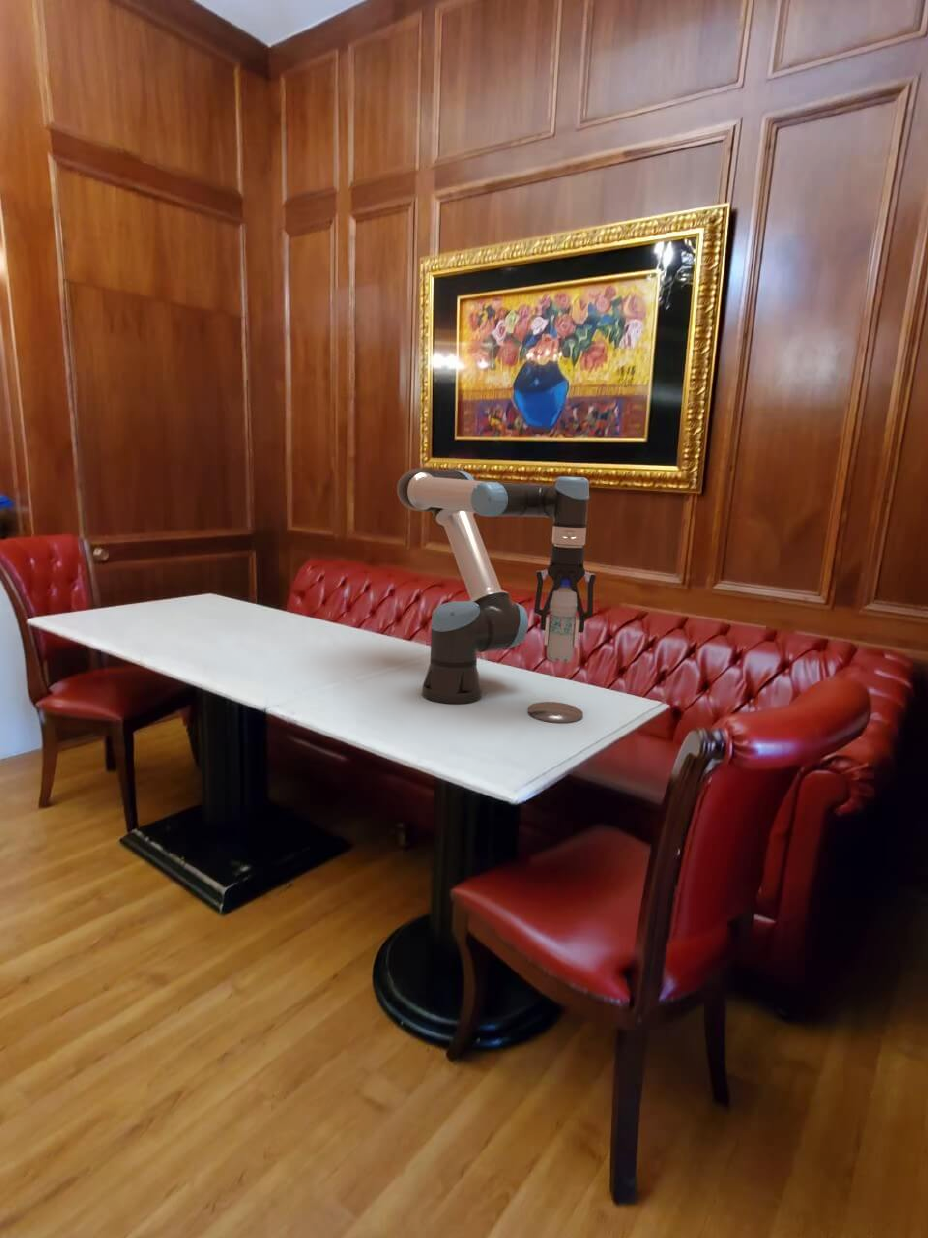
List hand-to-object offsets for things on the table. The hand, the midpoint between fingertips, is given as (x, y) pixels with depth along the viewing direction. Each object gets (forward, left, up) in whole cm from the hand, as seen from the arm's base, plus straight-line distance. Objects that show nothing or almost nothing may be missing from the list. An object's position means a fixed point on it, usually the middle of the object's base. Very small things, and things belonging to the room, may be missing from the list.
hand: (560, 644), depth 163 cm
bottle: (0, 0, -4) cm, 4 cm away
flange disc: (0, 0, -17) cm, 17 cm away
